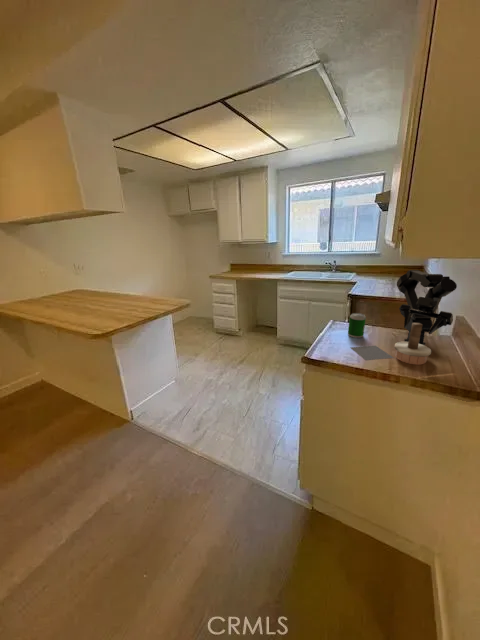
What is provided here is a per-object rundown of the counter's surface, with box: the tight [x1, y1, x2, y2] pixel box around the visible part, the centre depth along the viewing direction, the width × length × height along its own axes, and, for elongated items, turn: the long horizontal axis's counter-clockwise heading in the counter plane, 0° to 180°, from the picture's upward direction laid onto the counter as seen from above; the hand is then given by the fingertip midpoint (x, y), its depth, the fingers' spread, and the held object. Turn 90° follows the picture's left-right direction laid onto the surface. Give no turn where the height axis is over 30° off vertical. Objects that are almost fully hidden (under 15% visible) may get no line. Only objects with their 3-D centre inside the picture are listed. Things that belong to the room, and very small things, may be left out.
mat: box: [349, 345, 395, 361], centre depth 119 cm, size 13×13×1 cm
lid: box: [394, 323, 432, 357], centre depth 110 cm, size 13×13×12 cm
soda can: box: [347, 312, 367, 339], centre depth 137 cm, size 8×8×12 cm
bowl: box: [394, 349, 429, 366], centre depth 112 cm, size 11×11×4 cm
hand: (416, 330), depth 110 cm, fingers open, 9 cm apart
